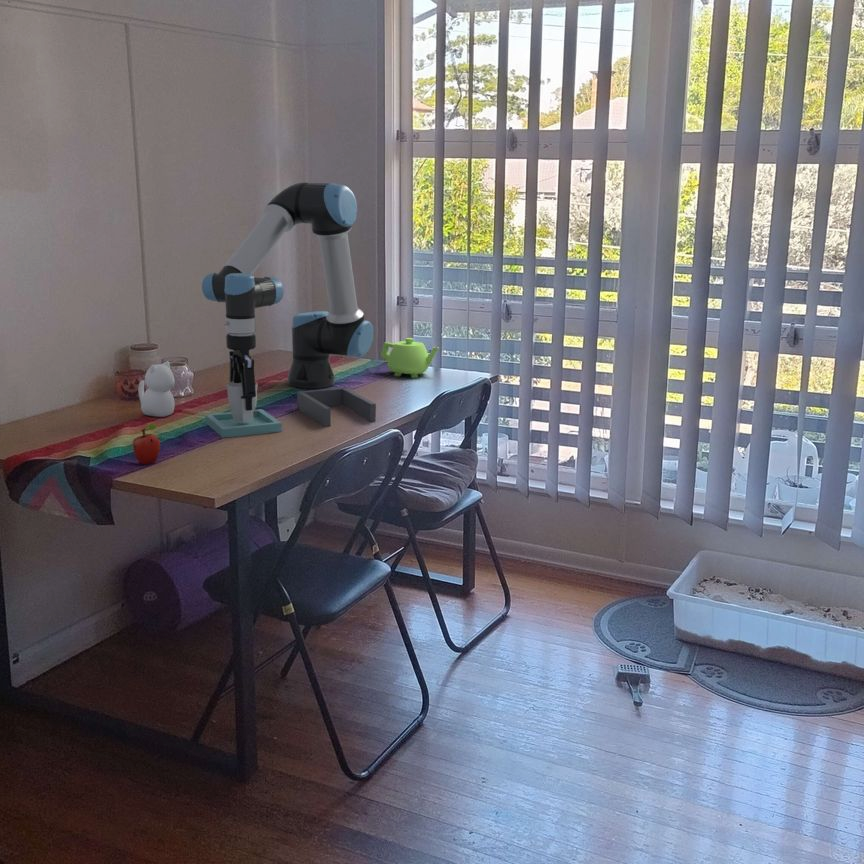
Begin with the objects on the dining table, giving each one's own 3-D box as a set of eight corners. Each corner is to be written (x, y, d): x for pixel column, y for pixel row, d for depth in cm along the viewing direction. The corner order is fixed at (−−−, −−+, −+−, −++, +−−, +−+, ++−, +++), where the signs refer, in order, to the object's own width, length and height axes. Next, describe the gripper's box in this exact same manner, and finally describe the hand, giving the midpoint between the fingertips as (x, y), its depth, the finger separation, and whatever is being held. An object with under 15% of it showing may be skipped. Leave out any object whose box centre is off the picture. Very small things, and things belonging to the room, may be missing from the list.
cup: (251, 425, 254) (250, 388, 251) (222, 422, 256) (221, 385, 253) (262, 417, 262) (262, 381, 259) (234, 415, 263) (233, 379, 260)
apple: (125, 464, 225) (123, 423, 222) (143, 457, 231) (141, 416, 228) (153, 469, 222) (150, 427, 219) (170, 461, 228) (168, 420, 226)
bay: (297, 408, 280) (297, 391, 279) (344, 403, 287) (344, 387, 286) (325, 426, 262) (325, 408, 260) (375, 421, 269) (375, 403, 267)
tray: (205, 422, 262) (205, 414, 261) (262, 417, 270) (261, 409, 269) (222, 437, 249) (222, 429, 248) (281, 431, 256) (281, 423, 255)
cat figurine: (161, 421, 263) (159, 367, 259) (127, 414, 268) (125, 361, 264) (184, 414, 270) (182, 362, 266) (150, 407, 276) (148, 356, 272)
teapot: (442, 373, 333) (443, 337, 329) (431, 381, 320) (433, 343, 317) (387, 368, 337) (387, 333, 334) (374, 376, 325) (375, 339, 322)
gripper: (215, 327, 259) (218, 410, 265) (238, 341, 242) (241, 428, 248) (242, 326, 263) (244, 407, 269) (267, 339, 245) (269, 425, 252)
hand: (243, 417), depth 258 cm, fingers closed on cup, 8 cm apart
